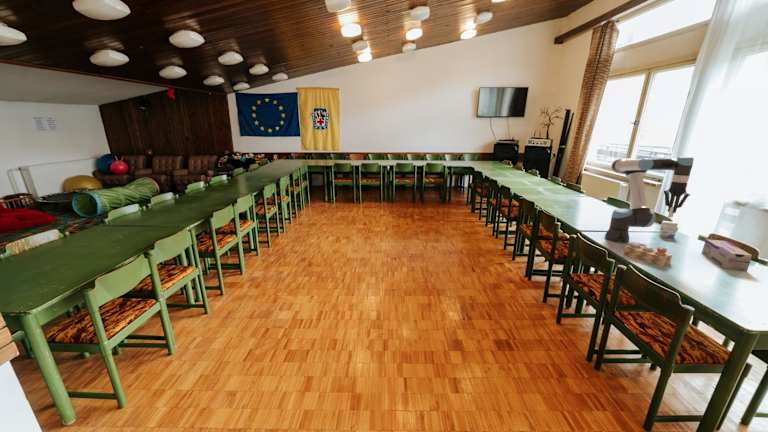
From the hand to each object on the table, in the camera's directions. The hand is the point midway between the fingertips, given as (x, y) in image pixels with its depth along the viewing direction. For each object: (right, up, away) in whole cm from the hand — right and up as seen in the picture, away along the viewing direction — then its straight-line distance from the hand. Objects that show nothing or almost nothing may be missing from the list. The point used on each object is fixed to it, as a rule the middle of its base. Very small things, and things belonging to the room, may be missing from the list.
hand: (670, 217), depth 205 cm
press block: (-15, -27, +1) cm, 31 cm away
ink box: (+34, -15, +40) cm, 54 cm away
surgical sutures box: (+29, -29, -5) cm, 41 cm away
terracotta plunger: (-12, -27, -6) cm, 30 cm away
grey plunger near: (-18, -25, +7) cm, 32 cm away
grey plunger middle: (-15, -27, +1) cm, 31 cm away
